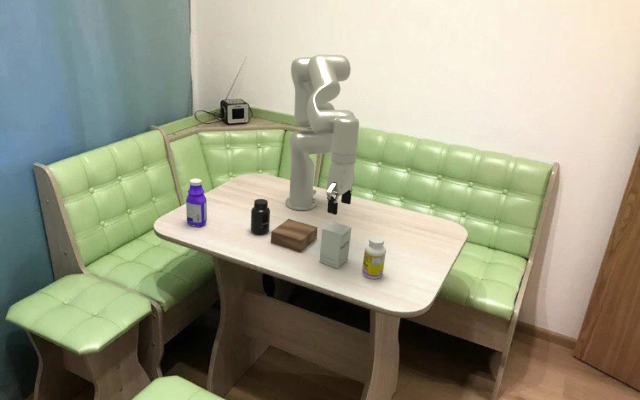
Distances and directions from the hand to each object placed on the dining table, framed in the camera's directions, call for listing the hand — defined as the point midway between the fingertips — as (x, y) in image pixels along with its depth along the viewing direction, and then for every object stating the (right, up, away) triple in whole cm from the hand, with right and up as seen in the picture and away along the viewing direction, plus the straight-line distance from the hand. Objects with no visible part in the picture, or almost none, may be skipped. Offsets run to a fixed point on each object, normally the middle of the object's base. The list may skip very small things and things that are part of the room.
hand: (339, 208), depth 156 cm
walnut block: (-15, -12, +19) cm, 27 cm away
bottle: (-52, -6, +26) cm, 58 cm away
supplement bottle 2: (+11, -22, +3) cm, 24 cm away
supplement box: (-1, -18, +9) cm, 20 cm away
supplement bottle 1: (-28, -9, +24) cm, 38 cm away
